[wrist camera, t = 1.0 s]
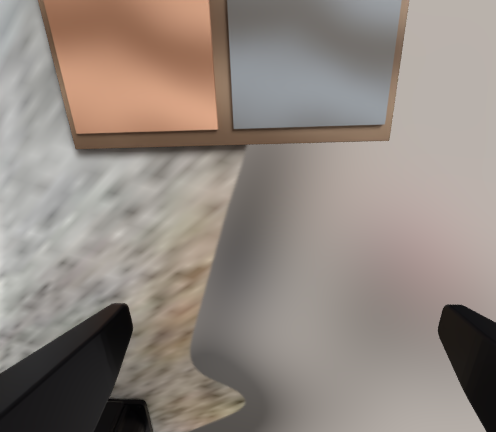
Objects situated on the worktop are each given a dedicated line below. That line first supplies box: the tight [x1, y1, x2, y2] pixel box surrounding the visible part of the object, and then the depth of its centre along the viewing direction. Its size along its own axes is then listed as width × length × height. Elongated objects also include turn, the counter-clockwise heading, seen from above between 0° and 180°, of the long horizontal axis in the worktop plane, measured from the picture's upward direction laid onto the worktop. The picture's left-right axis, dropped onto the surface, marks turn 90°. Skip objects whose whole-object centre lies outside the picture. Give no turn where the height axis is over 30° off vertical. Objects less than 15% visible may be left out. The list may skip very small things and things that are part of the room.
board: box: [38, 0, 409, 149], centre depth 17 cm, size 12×20×1 cm, turn 92°
